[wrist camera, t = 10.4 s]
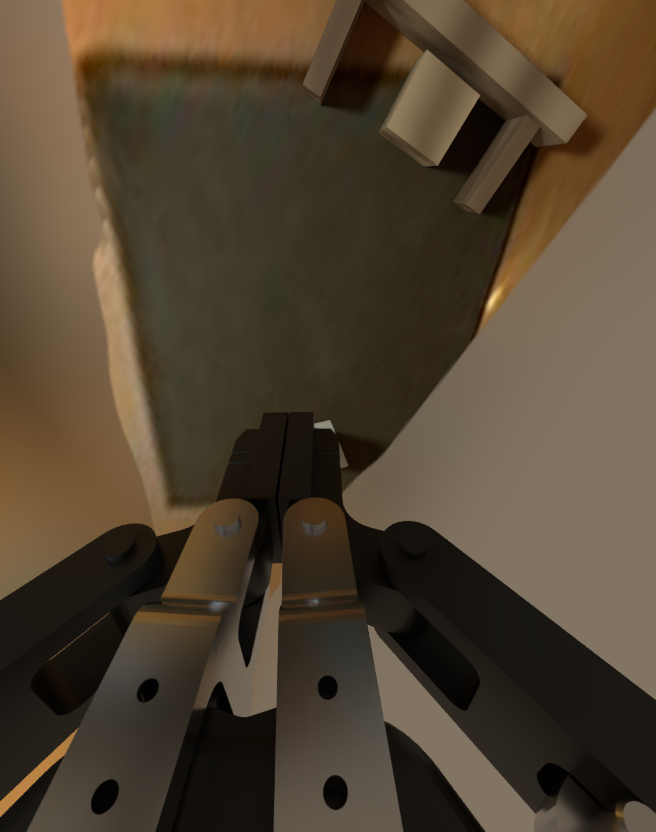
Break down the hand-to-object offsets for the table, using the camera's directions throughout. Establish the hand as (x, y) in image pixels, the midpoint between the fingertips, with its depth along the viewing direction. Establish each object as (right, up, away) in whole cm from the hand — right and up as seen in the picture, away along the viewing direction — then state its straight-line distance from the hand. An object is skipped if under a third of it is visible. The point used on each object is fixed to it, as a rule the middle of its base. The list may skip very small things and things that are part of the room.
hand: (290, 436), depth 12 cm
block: (+9, +26, +21) cm, 35 cm away
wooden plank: (+9, +27, +20) cm, 35 cm away
